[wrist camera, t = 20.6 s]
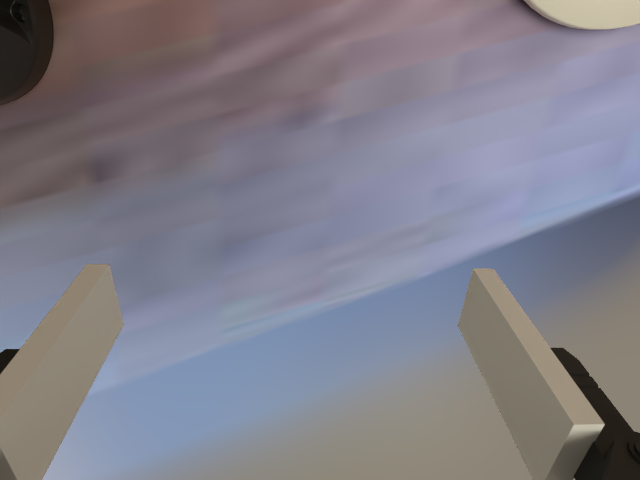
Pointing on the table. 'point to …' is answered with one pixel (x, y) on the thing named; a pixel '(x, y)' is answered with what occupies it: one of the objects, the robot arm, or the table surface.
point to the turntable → (589, 13)
